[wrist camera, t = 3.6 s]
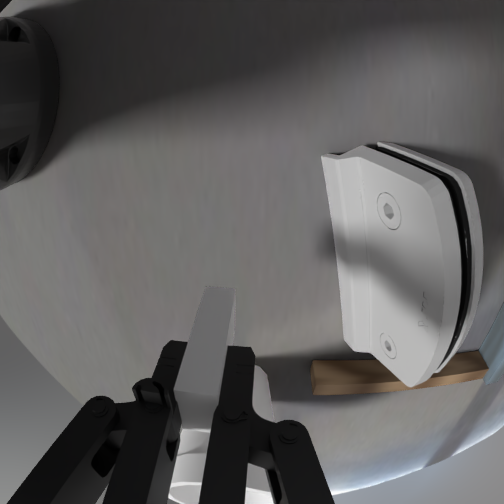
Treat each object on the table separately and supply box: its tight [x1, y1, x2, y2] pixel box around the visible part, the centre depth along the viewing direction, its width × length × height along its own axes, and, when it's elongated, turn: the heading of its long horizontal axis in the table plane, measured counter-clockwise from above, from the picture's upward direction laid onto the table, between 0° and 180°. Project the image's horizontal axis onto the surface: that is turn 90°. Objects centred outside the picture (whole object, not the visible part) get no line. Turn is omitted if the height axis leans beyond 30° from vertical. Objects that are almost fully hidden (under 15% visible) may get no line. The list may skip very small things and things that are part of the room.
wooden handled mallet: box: [310, 303, 504, 395], centre depth 22 cm, size 22×17×4 cm
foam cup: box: [168, 365, 275, 504], centre depth 23 cm, size 10×9×13 cm
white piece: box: [321, 142, 483, 387], centre depth 18 cm, size 17×5×10 cm, turn 13°
